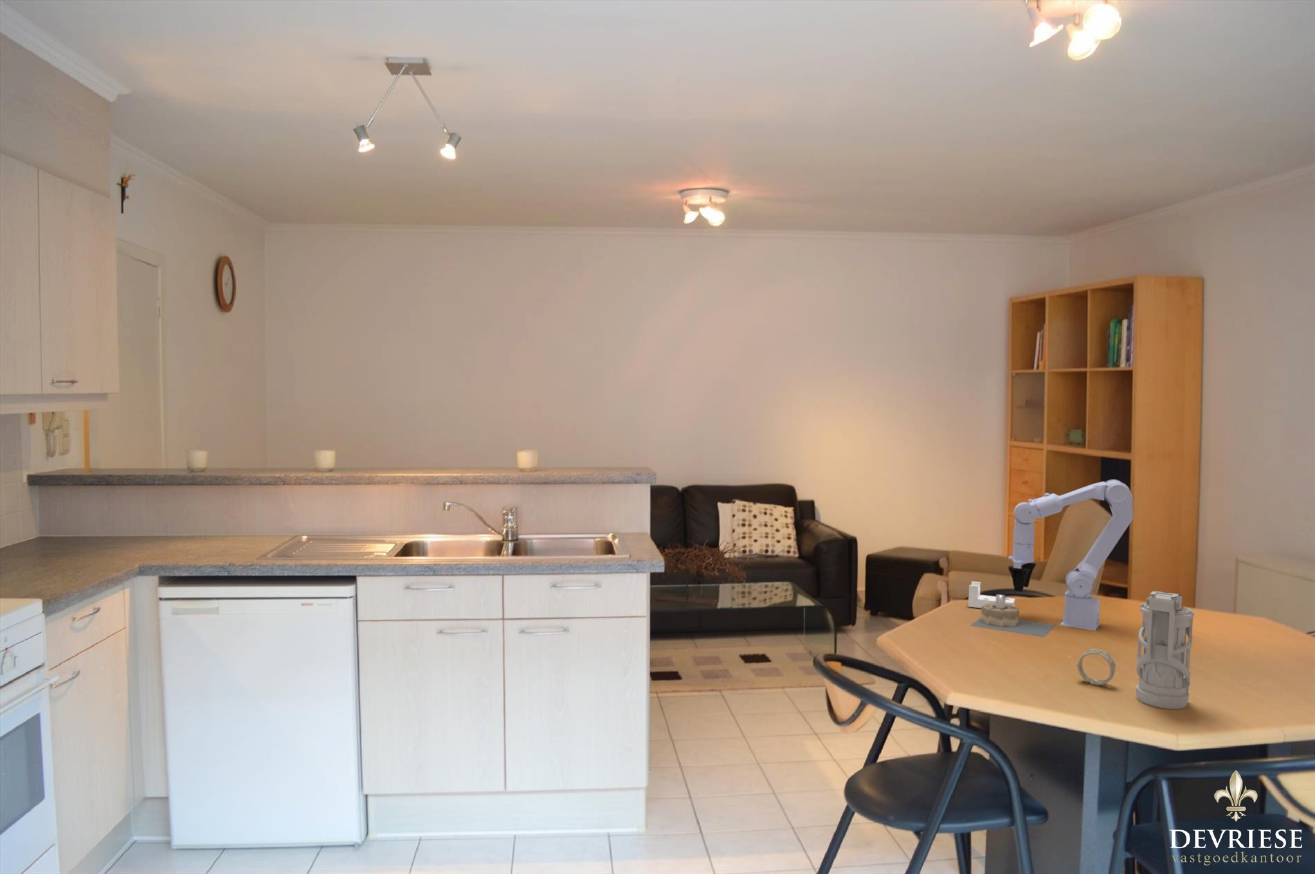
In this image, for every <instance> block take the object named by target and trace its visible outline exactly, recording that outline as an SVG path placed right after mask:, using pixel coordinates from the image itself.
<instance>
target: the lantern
mask: <svg viewBox="0 0 1315 874" xmlns="http://www.w3.org/2000/svg"><path fill="white" fill-rule="evenodd" d="M1149 594H1150V596H1147V597H1146V600H1145V602H1142V603H1141V604H1140V605H1139V611H1140V612H1141V613H1142V623H1141V627H1140V629H1139V630H1138V640H1137V641H1138V642H1137V655H1136V656H1137V657H1136V658H1137V659H1136V673H1137V675H1138V677H1139V680H1138V684H1136V686H1135V695H1136V699H1137V700H1138V701H1139V702H1140V703H1143V704H1145V705H1147V706H1151V707H1156V708H1161V709H1167V710H1180V709H1184V708H1186V707H1187V705H1188V703H1189V697H1190V694H1189V687H1190V683H1191V671H1190V666H1191V664H1190V663H1191V648H1192V644H1193V624H1194V623H1193V621H1194V614H1195V611H1194V610H1193V609H1191V608H1190V607H1186V606H1182V604H1183V595H1182V594H1179V593H1173V592H1172V593H1171V592H1169V593H1168V592H1163V591H1157V590H1156V591H1151V592H1150V593H1149ZM1143 636H1144V638H1143ZM1187 637H1188V640H1187ZM1186 640H1187V641H1186ZM1142 647H1143V654H1142Z"/></svg>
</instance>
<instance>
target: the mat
mask: <svg viewBox="0 0 1315 874" xmlns="http://www.w3.org/2000/svg"><path fill="white" fill-rule="evenodd" d="M970 626H971V627H977V628H981V629H982V628H983V629H990V630H995V631H1002V632H1007V633H1008V632H1010V633H1016V634H1021V635H1029V636H1034V637H1040V638H1045V637H1046V636H1047V635H1048V634H1049V633H1050V632H1051V631H1052V630H1053V628H1054V627H1056V625H1055V624H1048V623H1042V622H1036V621H1029V620H1021V619H1018V624H1017V625H1016V626H1015V627H1000V626H993V625H988V624H986V623H984V622H981V617H980V618H978V619H977V620H975V621H974V622H973V623H971V624H970Z"/></svg>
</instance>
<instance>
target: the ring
mask: <svg viewBox="0 0 1315 874" xmlns="http://www.w3.org/2000/svg"><path fill="white" fill-rule="evenodd" d="M995 607H996V603H989V604H984V605H982V607H981V608H980V609H981V610H980V611H981V612H980V614H981V615H980V618H981V622H984V623H986V624H988V625H993V626H1000V627H1015V626H1016V625H1017V624H1018V620H1019V615H1020V608H1019V607H1017V606H1015V607H1014V606H1012V605H1006V604H1005V609H997V608H995Z"/></svg>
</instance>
